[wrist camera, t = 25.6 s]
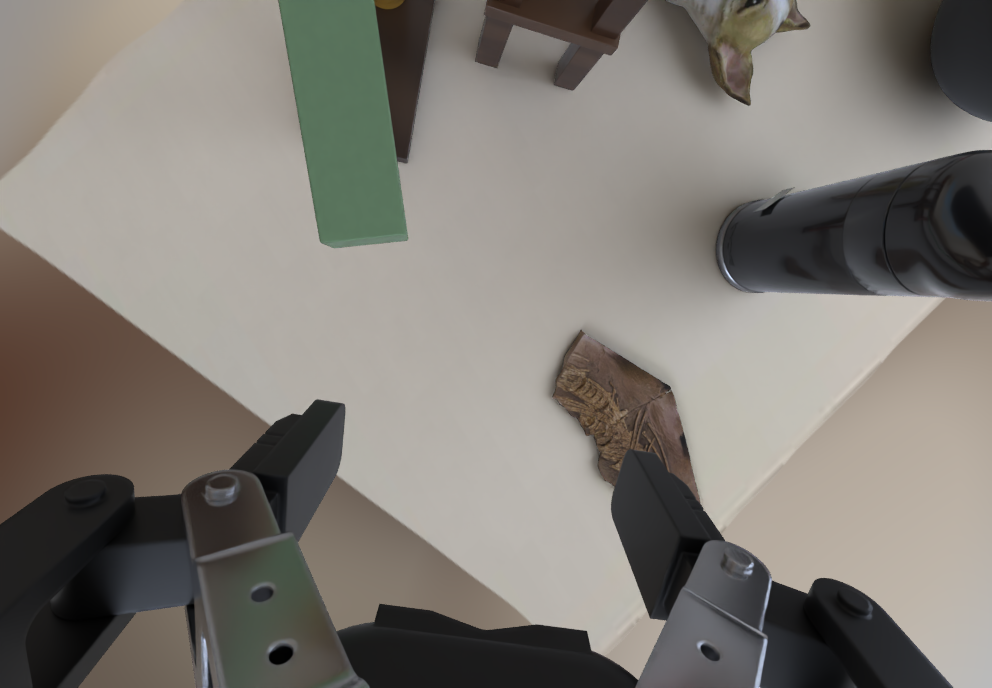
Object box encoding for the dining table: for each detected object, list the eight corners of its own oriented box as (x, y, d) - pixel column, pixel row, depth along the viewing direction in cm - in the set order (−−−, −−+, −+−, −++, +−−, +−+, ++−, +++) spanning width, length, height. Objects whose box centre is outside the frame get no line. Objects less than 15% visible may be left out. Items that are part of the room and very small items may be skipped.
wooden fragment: (531, 364, 45) (534, 366, 44) (621, 304, 46) (626, 304, 45) (650, 554, 51) (655, 559, 49) (728, 496, 51) (735, 501, 50)
